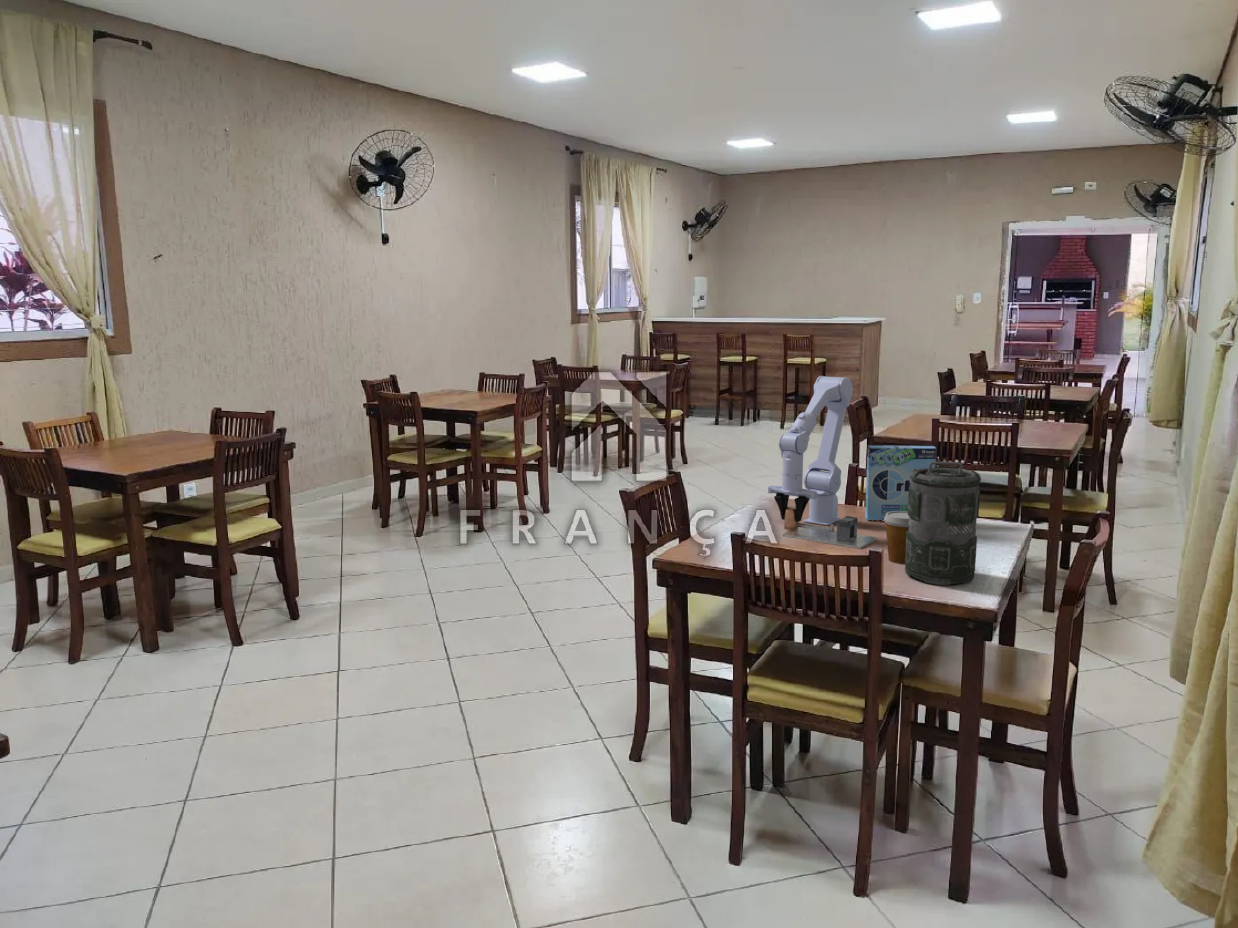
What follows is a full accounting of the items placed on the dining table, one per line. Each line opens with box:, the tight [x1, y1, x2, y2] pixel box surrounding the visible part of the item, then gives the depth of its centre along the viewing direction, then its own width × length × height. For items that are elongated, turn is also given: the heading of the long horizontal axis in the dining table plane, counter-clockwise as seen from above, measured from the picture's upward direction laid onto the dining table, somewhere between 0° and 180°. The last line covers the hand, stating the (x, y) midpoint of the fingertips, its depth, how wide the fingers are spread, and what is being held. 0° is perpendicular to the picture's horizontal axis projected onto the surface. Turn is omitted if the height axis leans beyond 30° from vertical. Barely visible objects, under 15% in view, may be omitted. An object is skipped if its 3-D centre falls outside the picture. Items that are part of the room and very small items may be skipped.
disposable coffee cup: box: [884, 511, 909, 565], centre depth 218 cm, size 10×10×12 cm
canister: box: [904, 461, 982, 586], centre depth 203 cm, size 16×16×28 cm
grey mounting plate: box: [782, 515, 878, 550], centre depth 241 cm, size 12×23×6 cm, turn 52°
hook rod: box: [783, 506, 835, 532], centre depth 244 cm, size 15×4×6 cm, turn 52°
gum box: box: [864, 444, 937, 522], centre depth 259 cm, size 19×5×23 cm, turn 82°
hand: (791, 520), depth 248 cm, fingers closed on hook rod, 4 cm apart
